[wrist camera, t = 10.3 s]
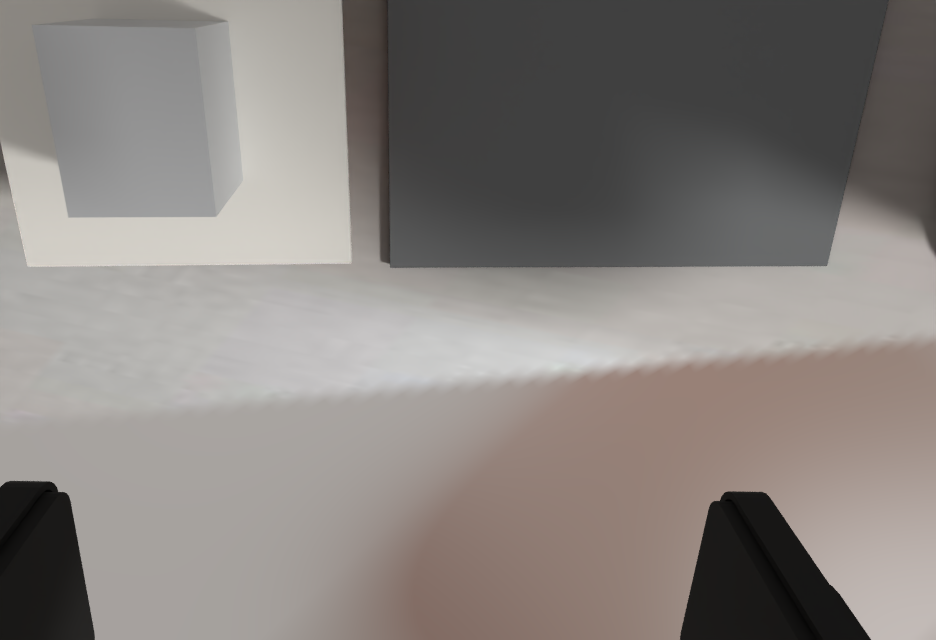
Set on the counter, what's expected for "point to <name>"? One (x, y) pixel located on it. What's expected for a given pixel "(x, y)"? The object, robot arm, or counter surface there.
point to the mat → (623, 130)
